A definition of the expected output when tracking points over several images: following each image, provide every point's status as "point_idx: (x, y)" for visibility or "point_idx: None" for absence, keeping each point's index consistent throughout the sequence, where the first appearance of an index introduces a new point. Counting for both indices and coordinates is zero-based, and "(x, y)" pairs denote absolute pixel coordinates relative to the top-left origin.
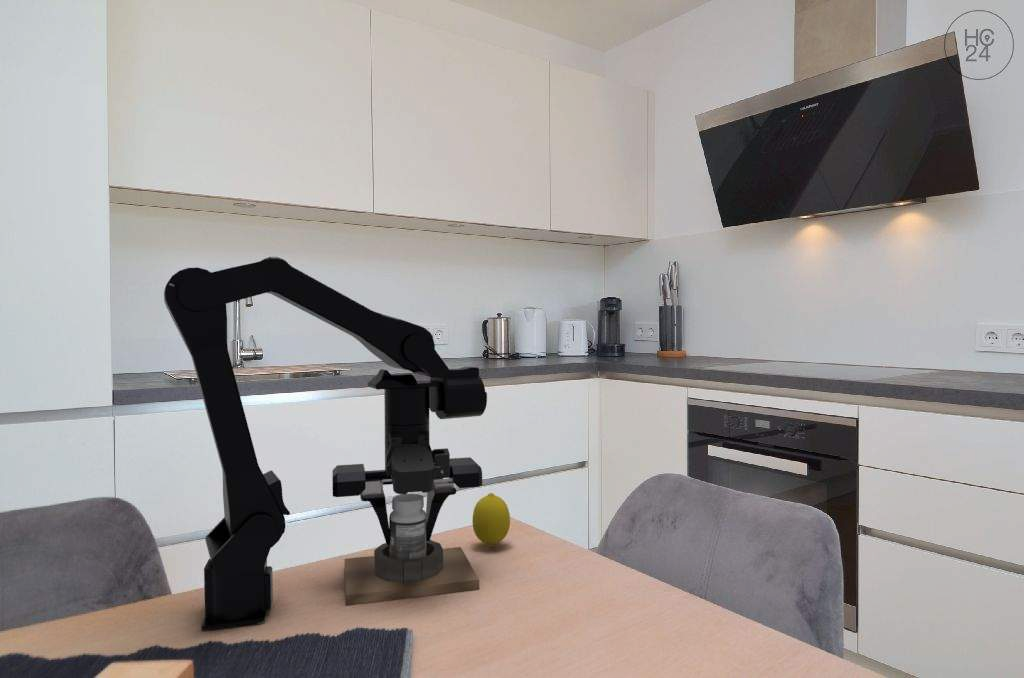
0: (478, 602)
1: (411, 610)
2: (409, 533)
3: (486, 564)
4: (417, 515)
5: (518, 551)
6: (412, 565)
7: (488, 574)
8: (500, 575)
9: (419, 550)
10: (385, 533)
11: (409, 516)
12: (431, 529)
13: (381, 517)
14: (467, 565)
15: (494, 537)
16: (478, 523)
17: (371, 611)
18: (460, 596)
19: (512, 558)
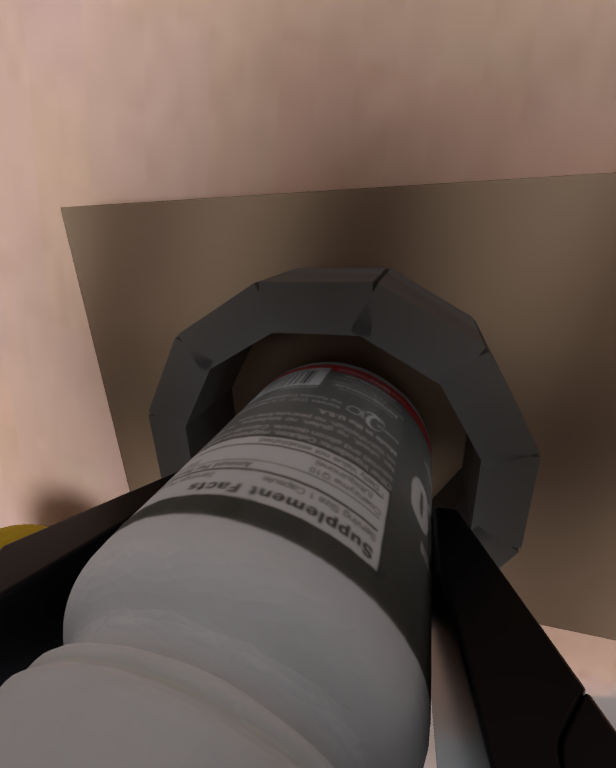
0: (89, 65)
1: (385, 19)
2: (270, 452)
3: (83, 423)
4: (107, 588)
5: (6, 477)
6: (320, 278)
7: (72, 340)
8: (35, 318)
9: (256, 400)
10: (479, 564)
11: (189, 596)
12: (124, 499)
13: (585, 752)
14: (112, 373)
15: (20, 529)
16: None
17: (613, 46)
18: (159, 153)
19: (15, 436)
